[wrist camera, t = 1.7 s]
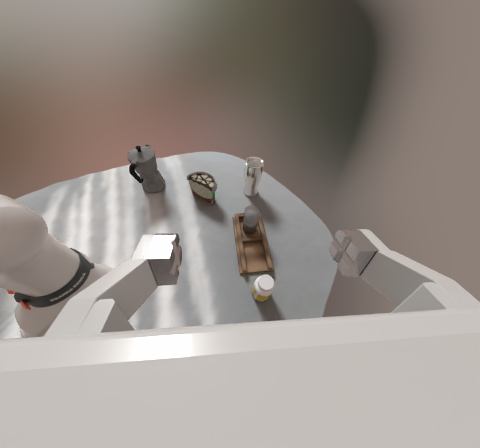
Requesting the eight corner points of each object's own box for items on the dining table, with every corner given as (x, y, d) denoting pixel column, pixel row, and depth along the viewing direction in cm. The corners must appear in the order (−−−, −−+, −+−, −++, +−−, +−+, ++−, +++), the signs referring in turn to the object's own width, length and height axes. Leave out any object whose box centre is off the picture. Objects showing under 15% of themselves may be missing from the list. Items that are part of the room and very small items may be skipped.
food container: (223, 197, 76) (223, 179, 68) (214, 207, 73) (213, 188, 64) (199, 185, 79) (196, 166, 71) (190, 194, 76) (186, 175, 68)
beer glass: (259, 197, 77) (266, 167, 65) (243, 198, 76) (246, 168, 64) (256, 185, 81) (262, 155, 69) (241, 186, 80) (243, 156, 68)
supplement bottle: (273, 294, 55) (281, 284, 47) (259, 306, 53) (265, 297, 45) (261, 279, 57) (266, 268, 49) (247, 290, 55) (251, 280, 47)
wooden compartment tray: (273, 270, 59) (281, 256, 50) (239, 274, 58) (242, 259, 49) (260, 216, 72) (265, 197, 63) (232, 218, 70) (233, 198, 61)
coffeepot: (149, 173, 81) (132, 134, 66) (170, 176, 81) (158, 137, 66) (134, 199, 72) (110, 160, 58) (157, 202, 72) (140, 164, 57)
